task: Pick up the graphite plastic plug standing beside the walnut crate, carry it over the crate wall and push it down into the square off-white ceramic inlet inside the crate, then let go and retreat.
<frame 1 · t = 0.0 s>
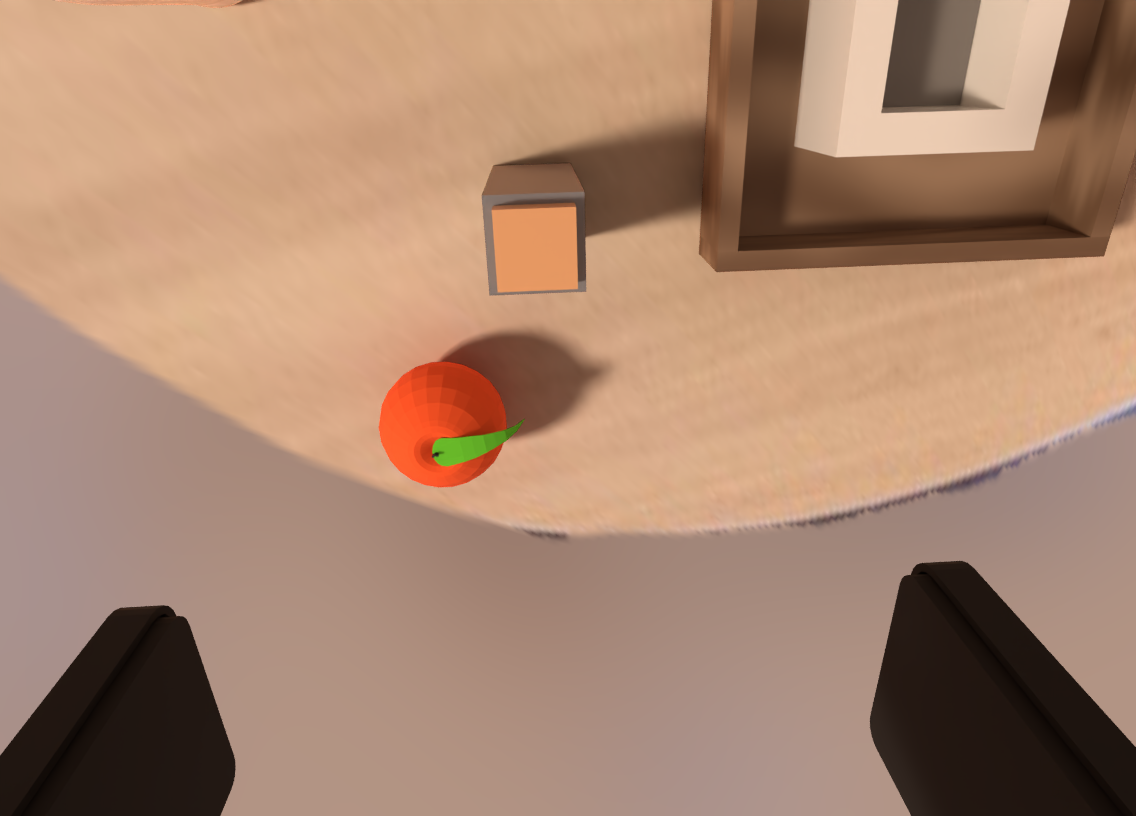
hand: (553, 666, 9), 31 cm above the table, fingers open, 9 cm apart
plug: (533, 203, 37), on the table
crate: (905, 67, 35), on the table
inlet: (889, 45, 35), resting on crate
clementine: (459, 395, 42), on the table
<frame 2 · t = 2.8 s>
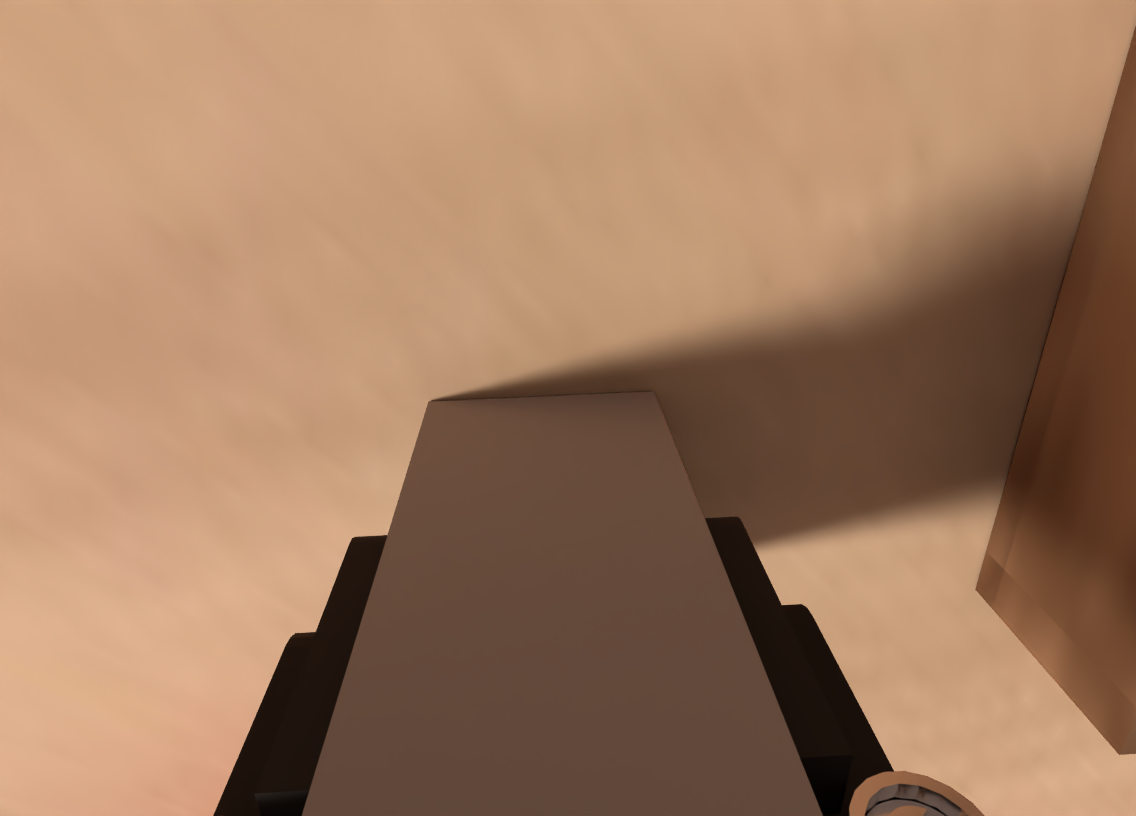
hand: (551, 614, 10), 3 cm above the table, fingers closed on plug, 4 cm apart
plug: (546, 492, 13), on the table, touching gripper
when the fingers open (6 cm above the table, at t = 7.8 s): plug stays where it is, resting on inlet.
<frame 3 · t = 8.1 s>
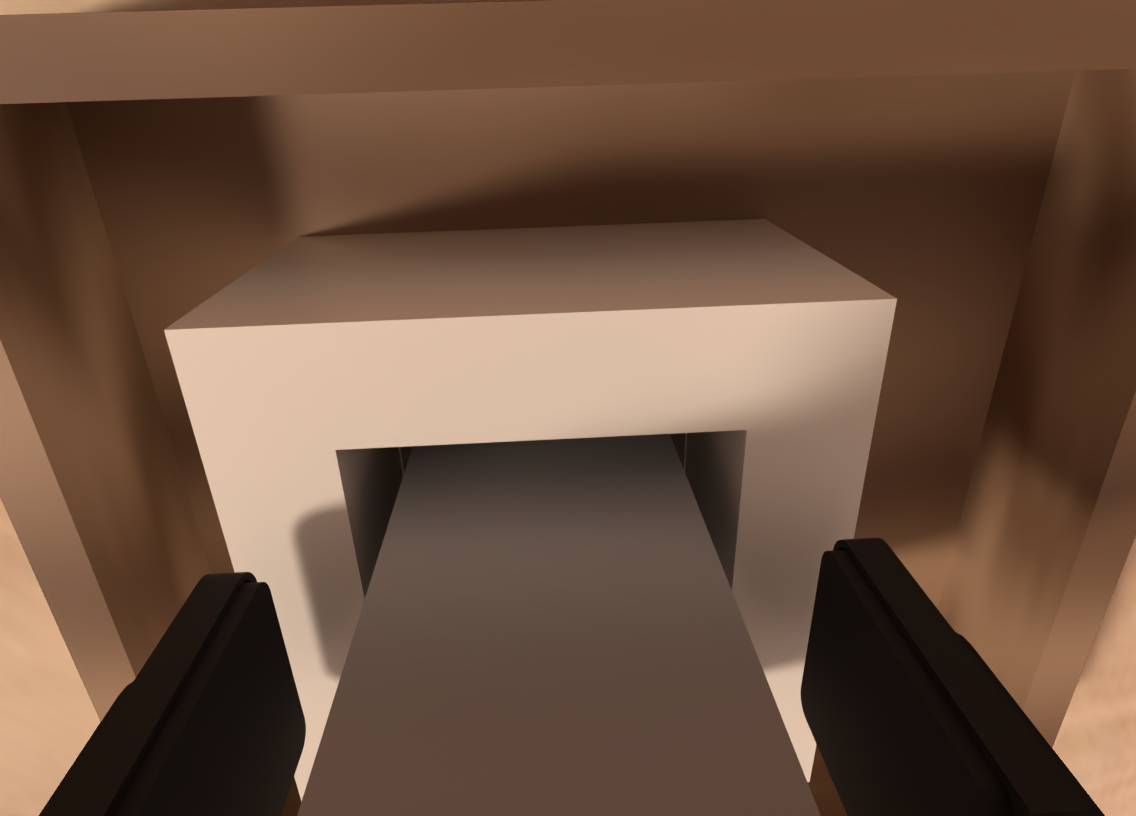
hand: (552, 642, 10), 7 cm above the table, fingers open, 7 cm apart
plug: (543, 480, 14), point 3 cm above the table, touching inlet
crate: (587, 458, 16), on the table
inlet: (543, 422, 16), resting on crate
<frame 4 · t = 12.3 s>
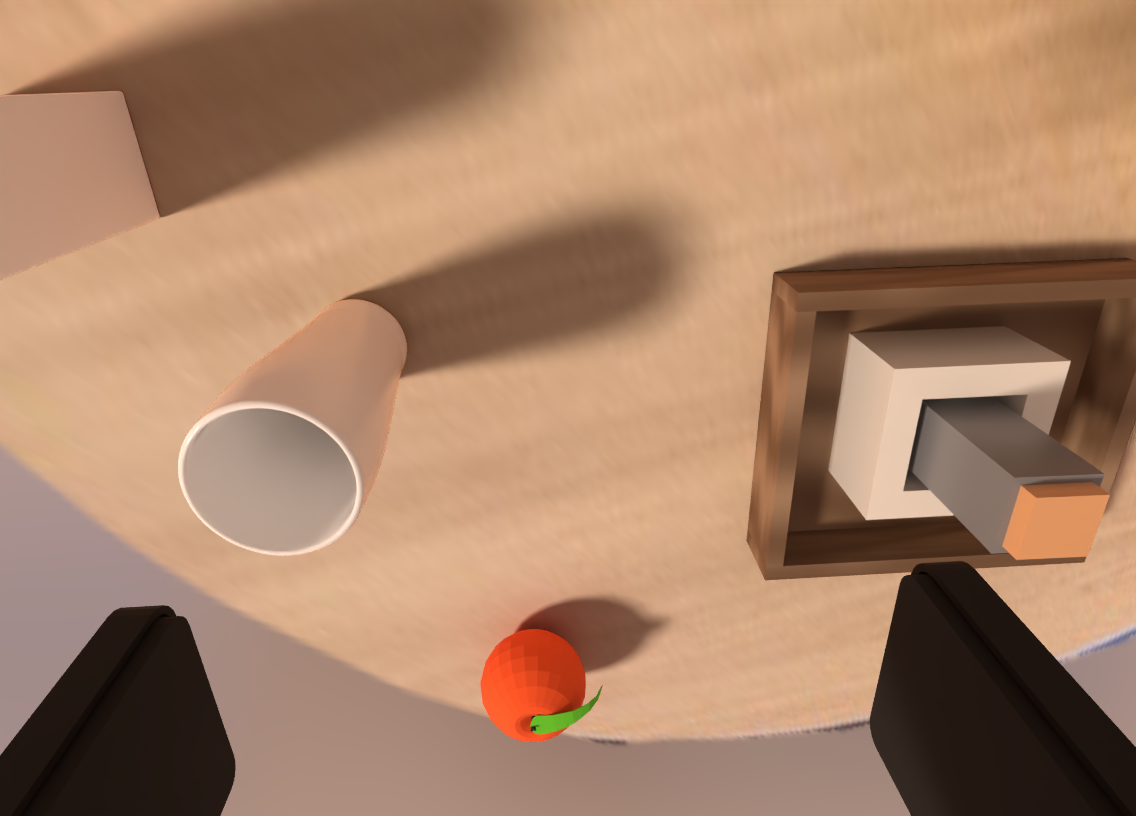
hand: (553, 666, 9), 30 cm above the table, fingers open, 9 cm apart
plug: (929, 415, 40), point 3 cm above the table, touching inlet
crate: (920, 411, 43), on the table
milk: (84, 160, 34), on the table
drinking glass: (361, 341, 39), on the table
inlet: (907, 397, 42), resting on crate
clementine: (540, 642, 49), on the table
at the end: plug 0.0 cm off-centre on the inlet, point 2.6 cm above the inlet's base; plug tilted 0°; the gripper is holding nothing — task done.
